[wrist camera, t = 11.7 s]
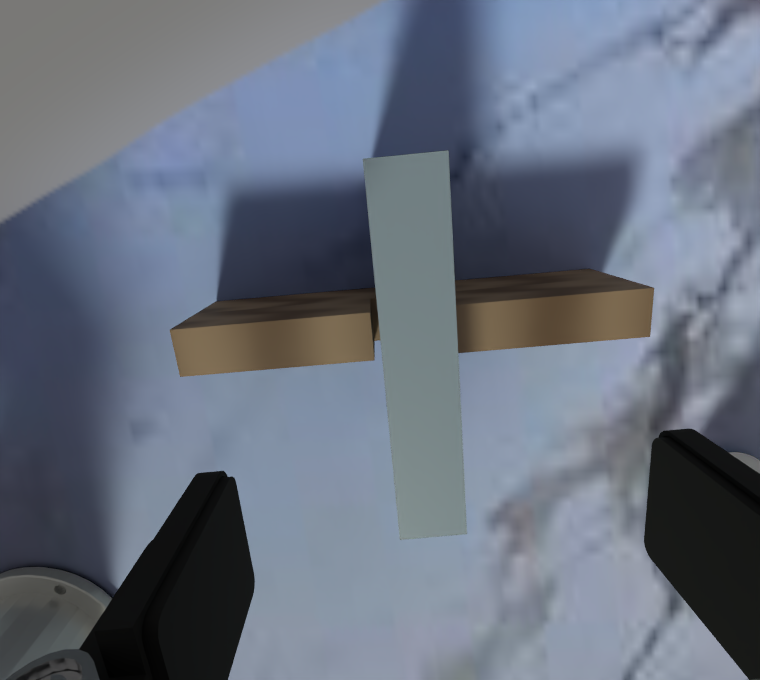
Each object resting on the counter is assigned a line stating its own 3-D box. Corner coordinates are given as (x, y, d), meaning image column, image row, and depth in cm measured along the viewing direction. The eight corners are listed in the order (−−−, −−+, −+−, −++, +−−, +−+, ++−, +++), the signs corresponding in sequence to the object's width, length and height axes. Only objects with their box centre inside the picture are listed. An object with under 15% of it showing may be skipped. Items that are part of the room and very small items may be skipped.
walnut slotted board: (223, 338, 30) (180, 376, 24) (216, 301, 30) (169, 329, 23) (588, 307, 30) (650, 336, 23) (589, 268, 29) (653, 287, 23)
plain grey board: (367, 177, 28) (362, 159, 16) (417, 172, 27) (448, 150, 16) (390, 419, 32) (399, 539, 21) (433, 415, 32) (466, 534, 21)
